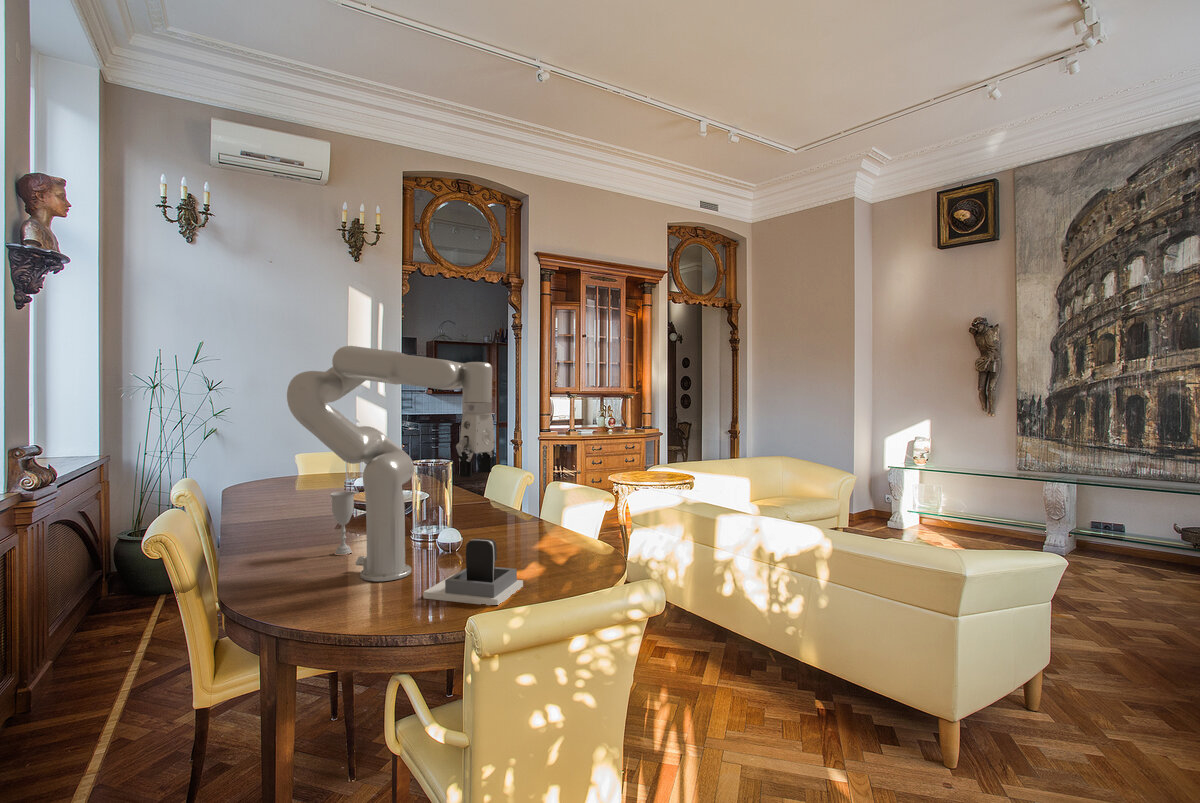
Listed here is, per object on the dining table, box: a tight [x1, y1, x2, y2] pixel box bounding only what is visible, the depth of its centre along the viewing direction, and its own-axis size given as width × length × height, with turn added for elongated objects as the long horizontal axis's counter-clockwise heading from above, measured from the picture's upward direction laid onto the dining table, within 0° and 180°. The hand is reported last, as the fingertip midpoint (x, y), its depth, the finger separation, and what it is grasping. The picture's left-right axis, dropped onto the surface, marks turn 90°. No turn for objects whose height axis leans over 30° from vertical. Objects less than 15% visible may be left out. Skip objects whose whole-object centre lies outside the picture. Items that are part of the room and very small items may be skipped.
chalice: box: [329, 490, 356, 554], centre depth 177 cm, size 7×7×18 cm
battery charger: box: [465, 537, 498, 583], centre depth 143 cm, size 7×4×11 cm, turn 78°
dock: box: [422, 566, 524, 606], centre depth 143 cm, size 19×14×4 cm
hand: (476, 474), depth 157 cm, fingers open, 9 cm apart
